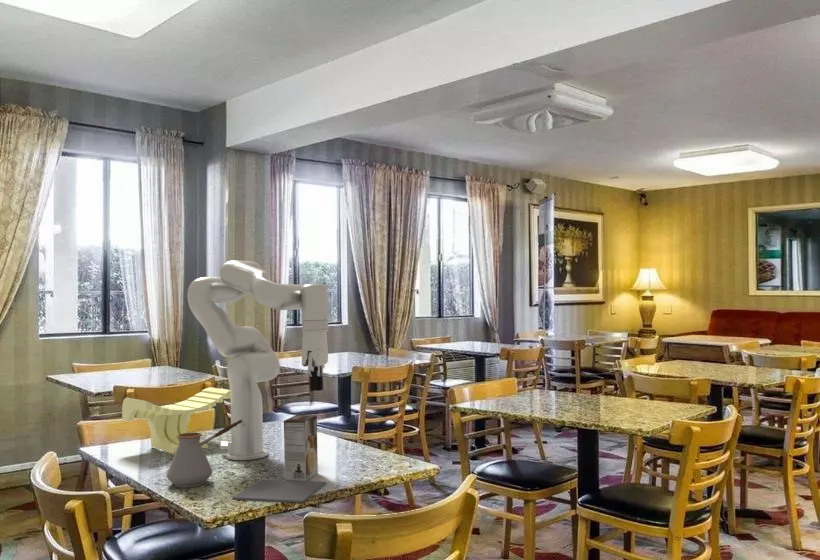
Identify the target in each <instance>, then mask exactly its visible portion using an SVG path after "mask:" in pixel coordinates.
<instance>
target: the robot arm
mask: <svg viewBox="0 0 820 560" xmlns="http://www.w3.org/2000/svg"><path fill="white" fill-rule="evenodd" d="M247 295H250V296H252V298H253V299H254V300H255V301H256V302H257V303H258V304H260V305H263V306H265V307H268V308H270V309H273V310H277V311H294V310H295V311H296V310H297V311H299V310H301V320H302V321H301V326H302V327H301V331H302V333H303V334H302V340H301V341H302V342H301V344H302V345H301V365H302V367H307V372H309V377H310V391H314V392H315V391H316V392H317V391H320V392H321V391H323V389H324V368H325V367H326V366H325V365H326V364H328V362H329V348H328V336H327V335H328V334H327V332H329V303H328V301H329V299H328V295H329V294H328V287H327V285H326V284H323V283H308V284H300V283H299V284H298V283H297V284H294V283H292V284H291V283H284V284H283V283H277V282H274V281H272V280H271V276H270V273H269V272H268V271H266V270H264V269H263V268H262V266H261V265H260V264H259V263H258V262H256V261H252V260H251V261H250V260H236V259H235V260H234V259H233V260H229V261H228V260H227V262H225V263H223V264H222V265H221V266H220V268H219V276H203V277H199V278H196V279H194V280H193V281H192V282H191V283H190V284H189V285H188V289H187V296H186V297H187V302H188V306H189V309H190V311H191V313H192V314H193V316H194V317H195V319H196V320H197V321H198V322H199V323H200V325H201V326H202V327H203V329H204V331H205V333H206V334H207V336H208V337H209V339H210V341H211V343H212V344H213V345H214V347H215V348H216V350H217V352H218V353H219V354H220V355H221V356H222V357H226V358H231V359H230V360H228V363H227V367H226V373H227V379H228V385H229V390H230V425H232V424H233V423H234V422H235V423H236V422H237V421H239V420H242V421H243V422H244V423H245V426H244V423H243V422H241V423H242V425H243V426H242V425H241V423H240V424H237V426H236V427H233V428H232V429H230V441H221V442H220V443H219V448H220V449H221V450H227V452H226V455H225V458H226V459H228V460H232V461H250V460H258V459H262V458H265V457H267V456H268V455H269V451H268V449H266V448H264V447H263V446H264V439H263V438H264V437H263V436H264V434H263V432H264V431H263V425H264V424H263V396H262V395H263V394H262V393H261V389H260V387H259V386H258V383H263V382H269V381H271V380H274V379H275V378H276V377H278V375H279V373H280V370H281V369H280V366H281V365H280V361H279V358H278V356H277V354H276V353H275V351H274V350H273V349H272V346H271V345H270V344H269V343H268V341H267V340H266V338H265V336H264V335H263V334H262V333H261V331H260V330H259V329H257V328H256V327H254V326H249V325H245V326H243V325H242V326H239V325H236V324H235V323H234V322H233V320H232V319H231V318H230V316H229V314H228V313H227V312H226V311H225V310H223V308H221V307H219V306H218V305H217V304H231V303H234V302H237V301H239V300H240V299H242V298H244V297H245V296H247Z"/></svg>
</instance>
